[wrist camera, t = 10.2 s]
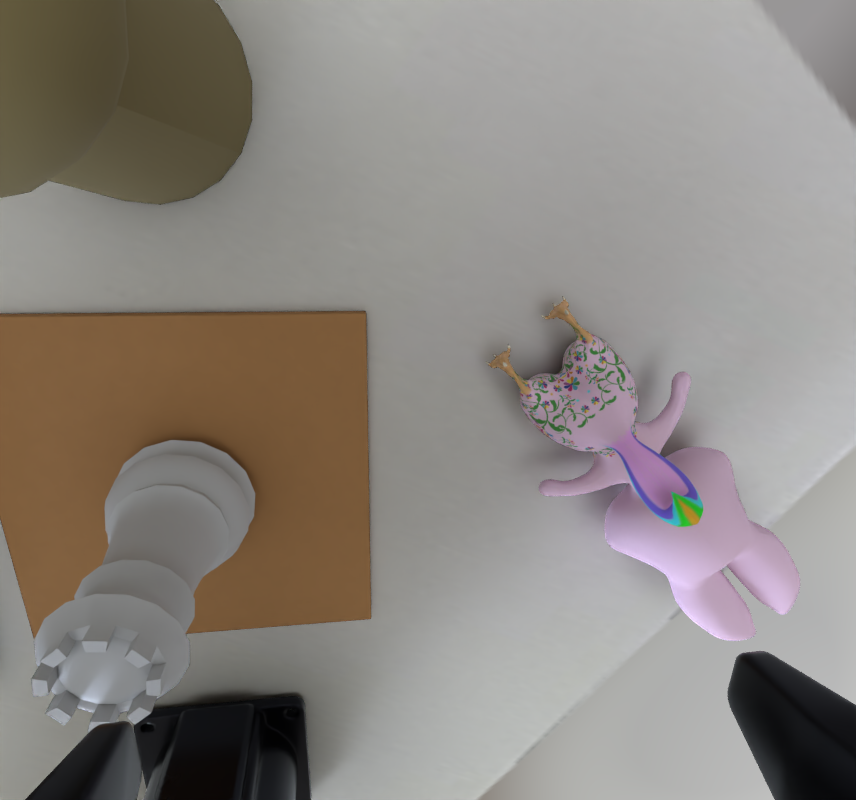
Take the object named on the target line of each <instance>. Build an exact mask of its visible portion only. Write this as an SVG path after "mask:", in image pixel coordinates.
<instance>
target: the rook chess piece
mask: <svg viewBox="0 0 856 800" xmlns="http://www.w3.org/2000/svg"><path fill="white" fill-rule="evenodd" d="M104 510H105V531H106V532H107V534H108V544H109V547H108V549H107V552H106V555H105V558H104V560H103V563H102V565H101V566H99V567H98V568H97V569H95V570H94V571H93V572H91V573H90V574H89V575H87V576H86V577H85V578H83V579H82V582H81V584H80V586H79V588H78V590H77V592H76V594H75V596H74V599H75V600H73V601H69V602H66V603H65V604H63V605H62V606H61V607H59V608H58V609H57V610H55V611H54V612H53V613H51V614H50V615H49V616H47V617H46V618H45V619H44V621H43V623H42V625H41V627H40V629H39V631H38V633H37V635H36V637H35V639H34V646H35V656H36V664H37V666H38V669H37V670H36V672H35V674H34V675H33V677H32V678H31V681H32V691H33V697H38V696H45V695H48V694H49V693H50V691H52V692H53V694H54V695H55V696H54V698H53V700H52V701H51V703H50V705H49V707H48V709H47V711H46V712H45V714H46V715H48V716H50V717H51V718H53V719H54V720H56V721H58V722H59V723H61V724H62V725H65V724H66V723H67V722H68V721H69V720H70V718H71V717H72V715H73V713H74V711H75V709H76V708H77V709H81V710H85V711H88V712H92V713H94V714H93V716H92V719H91V721H90V724H89V728H88V732H90V731H91V730H92V729H93V728H95V727H96V726H98V725H100V724H104V723H113V722H116V721H117V719H118V716H119V714H120V713H123V712H126V711H128V714H127V716H126V717H127V718H128V719H129V720H130V721H131V722H132V723H133V724H134V725H135V724H136V723H138V722H139V721H141V720H142V719H143V718H145V717H146V716H148V715H149V714H150V713H152V710H153V707H154V704H155V701H156V699H158V698H160V697H161V696H162V695H164V694H165V693H166V692H168V691H169V690H171V689H172V688H173V687H175V686H176V685H178V684H179V682H180V680H181V679H182V677H183V675H184V673H185V672H186V670H187V668H188V666H189V665H190V642H189V640H188V638H187V636H186V634H185V633H186V631H187V630H188V628H189V626H190V624H191V623H192V621H193V619H194V617H195V598H194V597H193V595H194V592H195V590H196V588H197V586H198V584H199V583H200V581H201V579H202V578H203V576H205V575H206V574H208V573H209V572H210V571H212V570H214V569H215V568H217V567H218V566H219V565H221V564H222V563H223V562H225V561H226V560H227V559H229V558H230V557H231V556H233V554H234V553H235V552H236V551H237V549H238V548H239V546H240V544H241V542H242V541H243V539H244V537H245V535H246V534H247V532H248V526H249V525H250V523H251V521H252V519H253V517H254V510H255V492H254V489H253V487H252V485H251V482H250V480H249V478H248V475H247V473H246V471H245V470H244V469H243V468H242V467H241V466H240V465H239V464H238V463H237V462H235V461H234V460H233V459H232V458H231V457H230V456H229V455H228V454H227V453H225V452H223V451H220V450H218V449H216V448H214V447H211V446H209V445H207V444H204V443H202V442H194V441H181V440H169V441H166V442H162V443H159V444H155V445H151V446H148V447H144V448H143V449H142V450H141V451H139V452H138V453H137V454H135V455H134V456H133V457H132V458H130V459H129V460H128V461H127V462H125V463H124V464H123V466H122V468H121V471H120V473H119V475H118V477H117V478H116V479H115V481H114V483H113V486H112V488H111V490H110V492H109V494H108V496H107V498H106V500H105V507H104Z"/></svg>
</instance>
